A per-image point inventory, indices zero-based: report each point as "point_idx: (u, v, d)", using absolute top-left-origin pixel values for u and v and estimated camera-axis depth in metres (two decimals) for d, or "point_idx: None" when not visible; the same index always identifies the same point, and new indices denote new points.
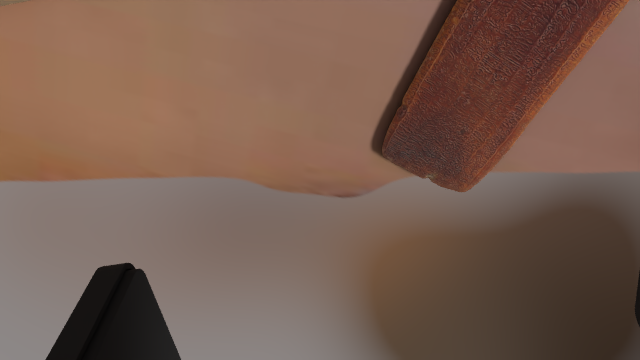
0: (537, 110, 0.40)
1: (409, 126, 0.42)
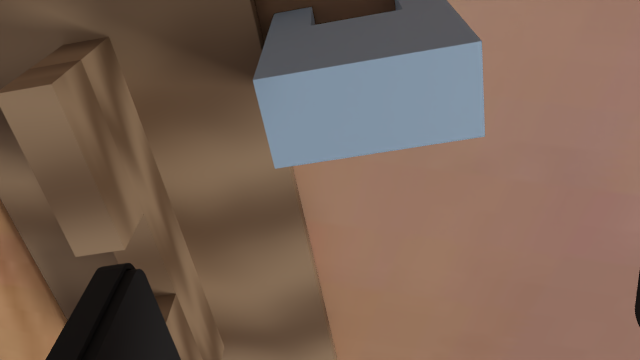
0: None
1: None
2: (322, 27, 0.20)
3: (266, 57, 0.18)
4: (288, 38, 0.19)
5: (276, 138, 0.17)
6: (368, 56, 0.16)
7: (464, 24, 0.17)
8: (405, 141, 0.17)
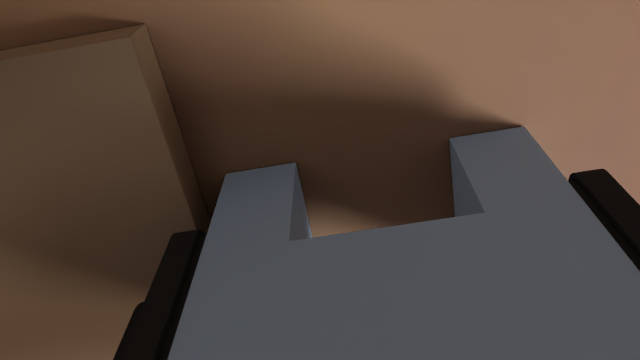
0: None
1: None
2: (314, 256, 0.09)
3: None
4: (238, 293, 0.09)
5: None
6: None
7: None
8: None
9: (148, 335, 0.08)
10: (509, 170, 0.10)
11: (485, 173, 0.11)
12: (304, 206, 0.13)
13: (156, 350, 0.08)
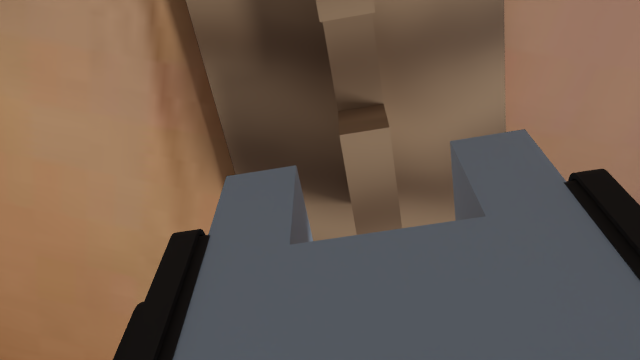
0: None
1: None
2: (314, 260, 0.09)
3: None
4: (239, 297, 0.09)
5: None
6: None
7: None
8: None
9: (148, 335, 0.08)
10: (510, 174, 0.10)
11: (486, 176, 0.11)
12: (305, 209, 0.13)
13: (156, 349, 0.08)
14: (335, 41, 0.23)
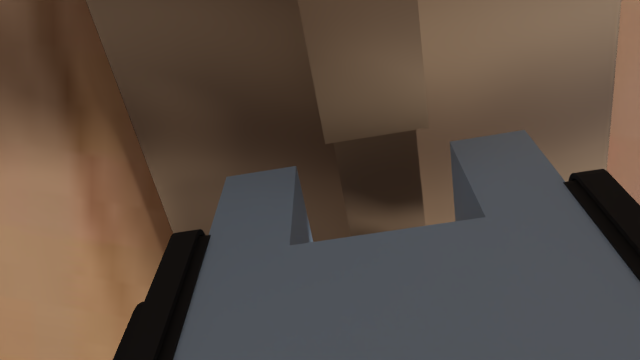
0: None
1: None
2: (314, 261, 0.09)
3: None
4: (238, 297, 0.09)
5: None
6: None
7: None
8: None
9: (148, 335, 0.08)
10: (510, 175, 0.10)
11: (486, 177, 0.11)
12: (304, 209, 0.13)
13: (157, 349, 0.08)
14: (350, 149, 0.14)
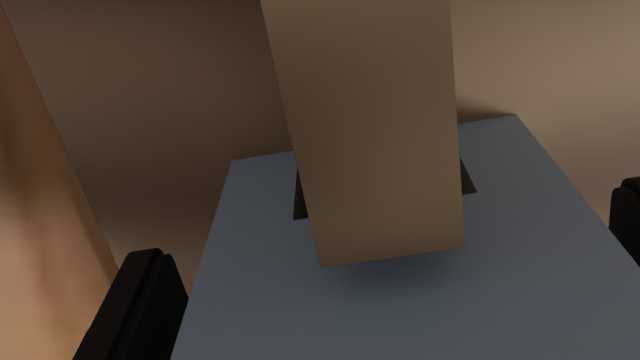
0: None
1: None
2: None
3: (187, 353, 0.08)
4: (245, 266, 0.09)
5: None
6: None
7: None
8: None
9: None
10: (501, 154, 0.11)
11: (479, 157, 0.11)
12: None
13: None
14: None
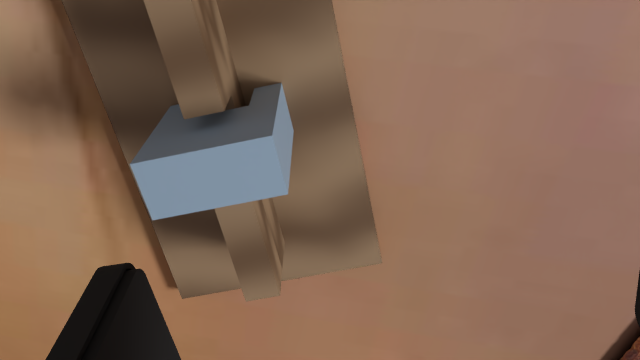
0: None
1: None
2: (192, 120, 0.29)
3: (146, 145, 0.27)
4: (167, 129, 0.28)
5: (150, 200, 0.26)
6: (203, 146, 0.25)
7: (273, 121, 0.26)
8: (236, 199, 0.26)
9: None
10: (265, 95, 0.30)
11: (257, 96, 0.30)
12: None
13: None
14: None
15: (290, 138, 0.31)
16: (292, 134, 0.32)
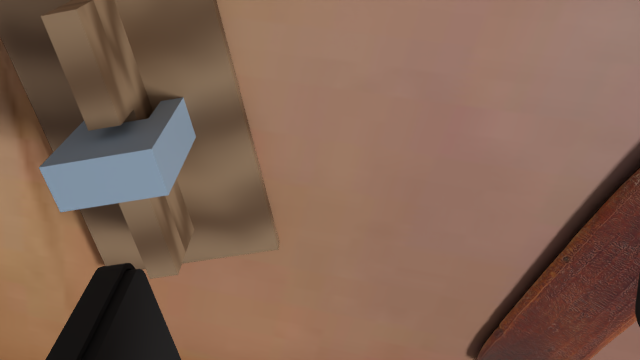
0: (614, 337, 0.47)
1: (503, 344, 0.48)
2: (101, 129, 0.35)
3: (57, 151, 0.33)
4: (79, 136, 0.34)
5: (57, 196, 0.32)
6: (98, 155, 0.31)
7: (158, 135, 0.32)
8: (126, 197, 0.32)
9: None
10: (165, 108, 0.36)
11: (159, 109, 0.36)
12: None
13: None
14: None
15: (187, 145, 0.37)
16: (192, 140, 0.38)
